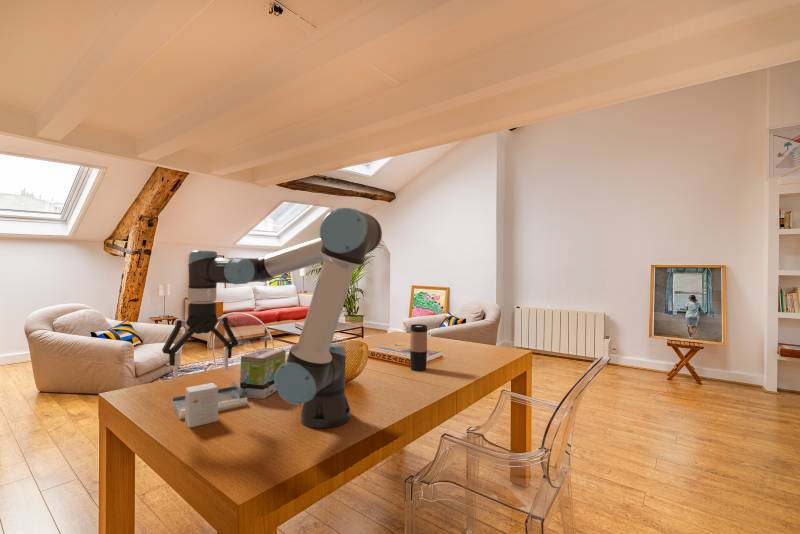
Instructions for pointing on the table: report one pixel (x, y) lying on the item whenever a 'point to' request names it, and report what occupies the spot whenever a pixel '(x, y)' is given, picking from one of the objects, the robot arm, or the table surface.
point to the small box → (201, 404)
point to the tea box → (260, 372)
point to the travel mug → (418, 347)
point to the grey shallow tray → (226, 400)
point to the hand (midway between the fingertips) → (201, 372)
